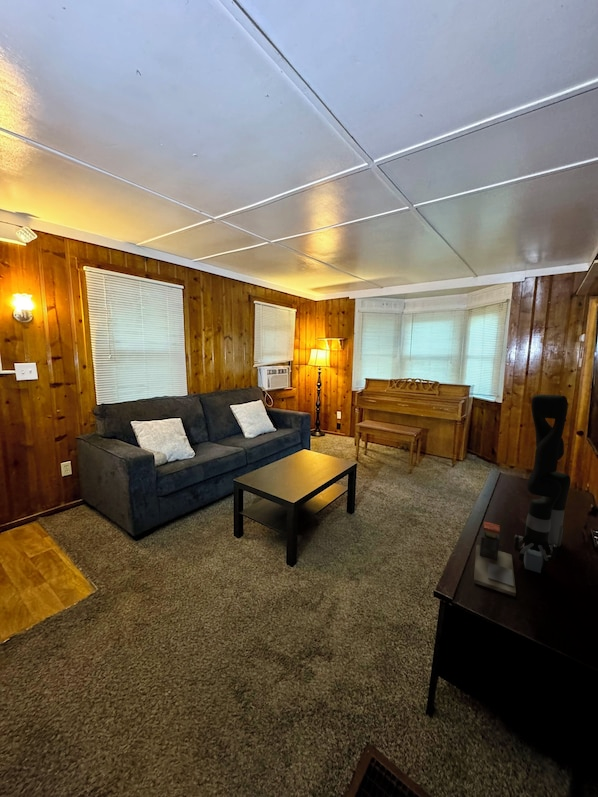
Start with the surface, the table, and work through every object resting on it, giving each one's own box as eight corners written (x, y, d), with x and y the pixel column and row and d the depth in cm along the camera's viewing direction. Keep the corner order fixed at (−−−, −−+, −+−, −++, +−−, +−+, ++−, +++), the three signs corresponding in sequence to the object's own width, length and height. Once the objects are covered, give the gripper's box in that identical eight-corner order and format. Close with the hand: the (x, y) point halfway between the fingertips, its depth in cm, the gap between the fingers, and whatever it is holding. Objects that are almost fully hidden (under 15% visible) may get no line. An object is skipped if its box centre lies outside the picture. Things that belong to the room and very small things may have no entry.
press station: (511, 557, 135) (514, 535, 133) (515, 596, 113) (519, 571, 112) (475, 547, 141) (478, 526, 140) (473, 582, 120) (476, 558, 118)
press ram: (497, 540, 135) (499, 525, 133) (497, 547, 130) (499, 531, 129) (482, 536, 137) (483, 521, 136) (481, 543, 133) (483, 527, 131)
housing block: (538, 564, 131) (540, 551, 130) (540, 573, 126) (542, 559, 125) (523, 560, 133) (525, 547, 132) (525, 568, 128) (527, 555, 127)
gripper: (558, 527, 126) (552, 565, 129) (515, 516, 134) (510, 553, 136) (562, 536, 120) (556, 576, 123) (516, 525, 127) (511, 563, 130)
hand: (532, 564), depth 129 cm, fingers open, 6 cm apart
